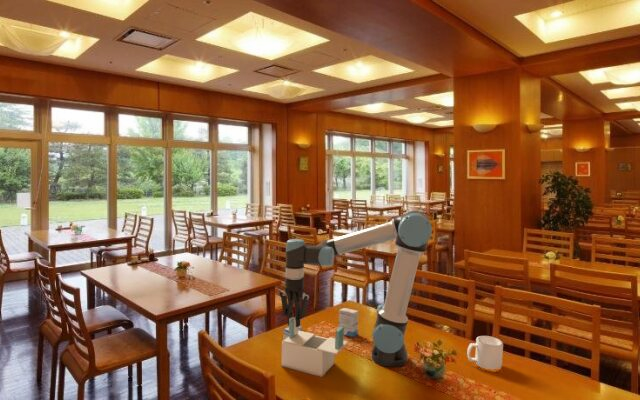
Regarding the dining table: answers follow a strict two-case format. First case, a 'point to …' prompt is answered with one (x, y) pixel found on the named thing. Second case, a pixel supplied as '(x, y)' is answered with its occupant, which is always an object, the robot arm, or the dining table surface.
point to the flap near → (334, 343)
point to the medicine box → (286, 332)
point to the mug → (487, 352)
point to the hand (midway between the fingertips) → (293, 333)
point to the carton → (307, 357)
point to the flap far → (297, 336)
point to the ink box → (349, 321)
